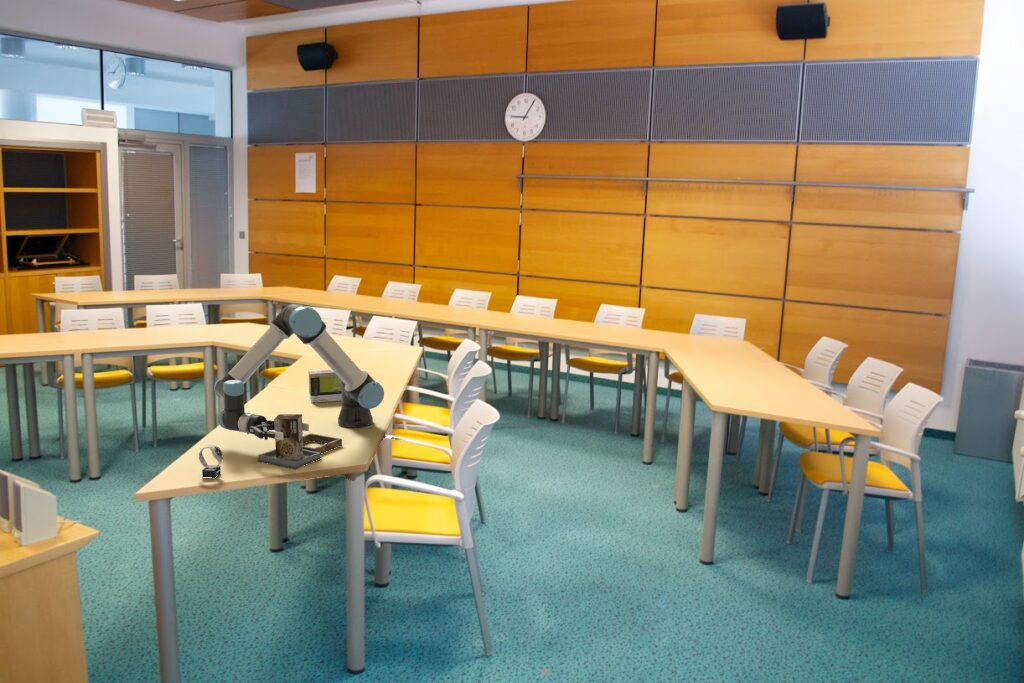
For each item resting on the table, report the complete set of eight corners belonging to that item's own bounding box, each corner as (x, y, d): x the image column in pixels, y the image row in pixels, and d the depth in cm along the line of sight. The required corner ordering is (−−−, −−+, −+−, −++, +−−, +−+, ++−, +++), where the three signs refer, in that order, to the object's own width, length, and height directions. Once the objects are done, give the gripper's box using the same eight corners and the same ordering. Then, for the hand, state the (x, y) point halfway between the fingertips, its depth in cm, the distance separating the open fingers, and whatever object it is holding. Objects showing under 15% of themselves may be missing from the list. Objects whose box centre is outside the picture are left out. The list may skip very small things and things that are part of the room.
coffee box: (304, 455, 300) (302, 413, 297) (299, 460, 294) (298, 418, 291) (279, 455, 300) (278, 413, 297) (275, 460, 293) (273, 418, 291)
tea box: (339, 396, 398) (339, 368, 396) (342, 401, 389) (341, 372, 387) (309, 398, 394) (308, 369, 391) (310, 403, 384) (309, 373, 382)
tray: (285, 451, 307) (284, 445, 307) (321, 459, 299) (321, 452, 299) (258, 461, 295) (258, 455, 294) (295, 469, 287) (295, 462, 286)
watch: (220, 479, 275) (219, 448, 274) (197, 478, 275) (195, 448, 274) (226, 473, 281) (224, 443, 279) (203, 473, 281) (202, 443, 279)
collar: (310, 440, 323) (310, 433, 322) (341, 446, 316) (341, 438, 315) (283, 450, 309) (282, 443, 308) (314, 456, 302) (314, 449, 301)
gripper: (277, 426, 315) (318, 433, 305) (228, 441, 293) (271, 450, 283) (276, 407, 313) (318, 414, 304) (227, 422, 292) (270, 430, 282)
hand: (295, 431), depth 293 cm, fingers open, 13 cm apart
